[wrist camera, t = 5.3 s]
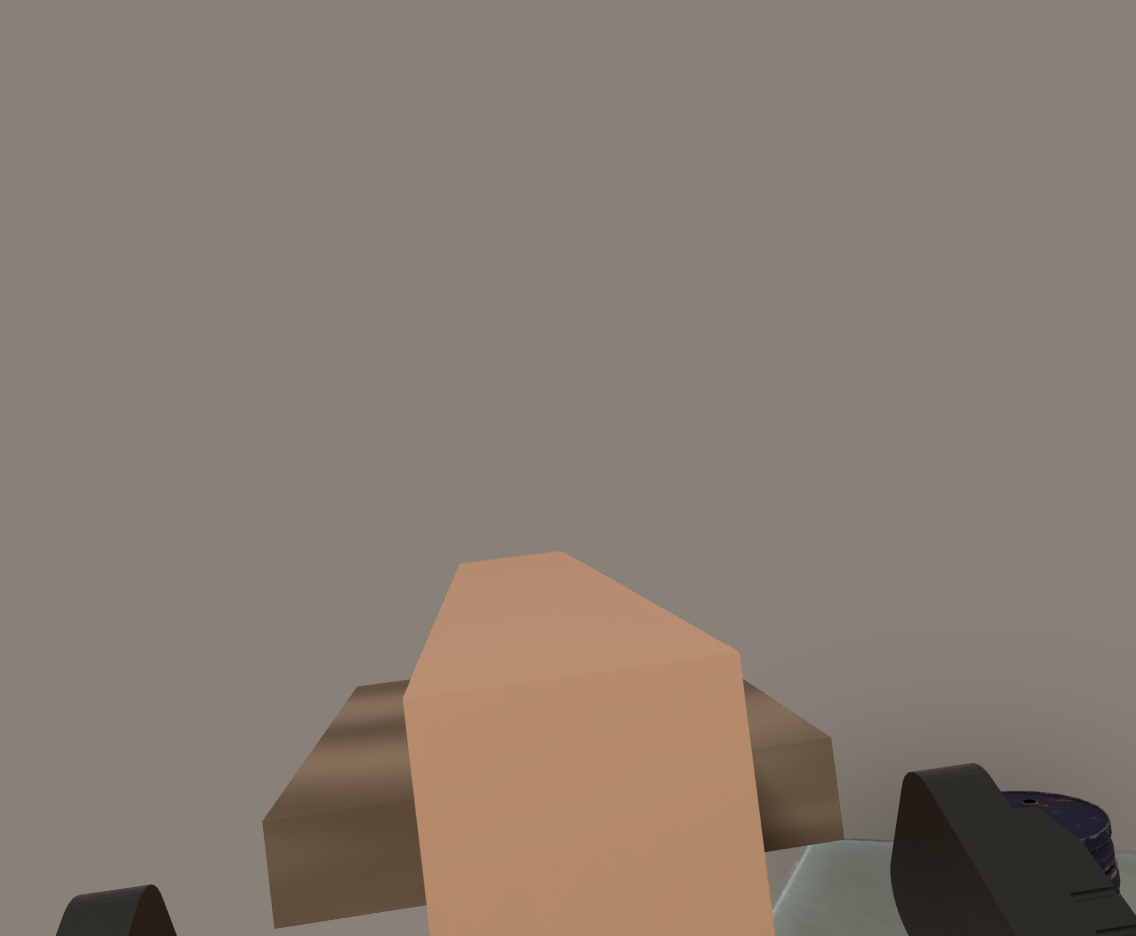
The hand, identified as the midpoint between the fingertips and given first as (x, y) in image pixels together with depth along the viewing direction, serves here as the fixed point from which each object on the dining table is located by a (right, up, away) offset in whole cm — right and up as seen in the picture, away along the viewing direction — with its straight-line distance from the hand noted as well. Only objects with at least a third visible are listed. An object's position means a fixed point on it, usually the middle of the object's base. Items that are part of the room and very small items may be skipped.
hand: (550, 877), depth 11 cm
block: (0, -2, +11) cm, 11 cm away
